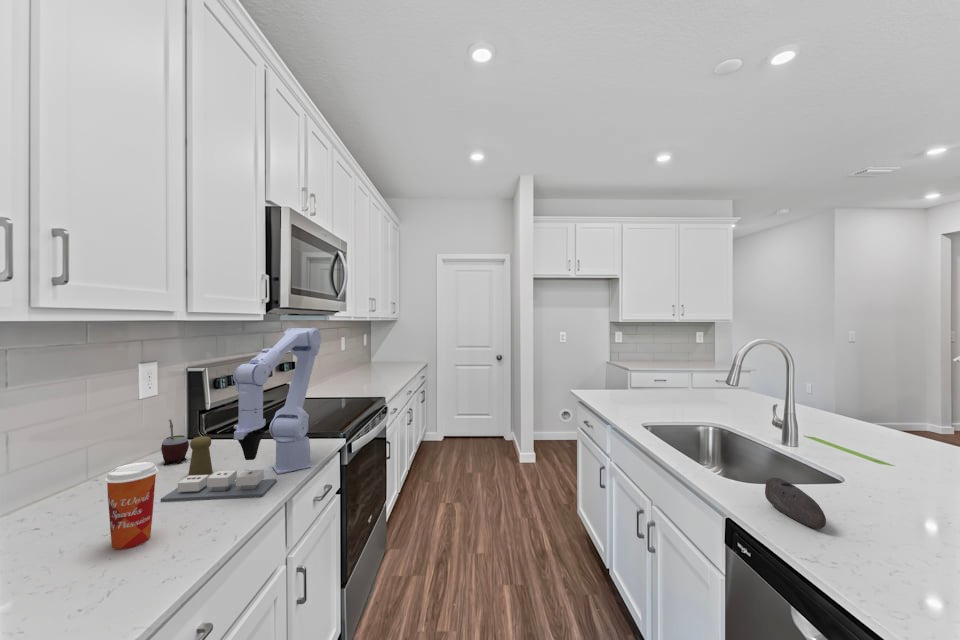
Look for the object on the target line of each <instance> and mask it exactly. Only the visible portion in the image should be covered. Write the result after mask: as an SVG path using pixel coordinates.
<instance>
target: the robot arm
mask: <svg viewBox="0 0 960 640" xmlns="http://www.w3.org/2000/svg"><path fill="white" fill-rule="evenodd" d="M321 335H322V334H321V332H320V330H319V328H317V327H308V328H307V327H305V328H303V327H301V328H299V327H297V328H296V327H295V328H294V327H288V328H287V329H286V330H284V332H283V335H282V338H280V340H278V342H277V343H276V344H275V345H273V347H272V348H270V347H267V348H263V349H261V350H260V353H258V354H257V355H256V356H255V357H253V358H251V359H250V361H249V362H247V363H242V364H240V365H239V366H238V367H236V368H235V371H234V374H233V375H232V379H233V382H234V383H235V385H236V391H237V392H238V420H237V423H238V424H235V425H233V430H234V429H235V431H234V432H233V440H235V441H237V442H238V443H239V444H240V446H241V449H242V453H243V456H244V459H245V461H254V460H255V459H256V458H257V455H258V450H259V446H260V443H261V441H262V438H263V436H264V435H265V430H264V429H262V428H264V427H265V426H266V424H267V423H266V419H267V418H264V384H266V383H267V382H268V380H269V376H270V375H271V372H272V371H273V370H274V369H275V368H276V367H277V366H278V365H280V363H281V362H282V357H283V356H284V355H285V354H287V353H288V352H290V353H291V354H292V355H293V356H295V357H296V363H295V366H294V367H295V368H294V370H293V374H292V377H291V381H290V385H289V388H288V392H287V395H286V400H285V403H284V406H282V407H281V408H279V409H278V410H276V412H275V413H274V417H273V419H272V420H271V422H270V424H269V429H268V430H269V434H270V436H271V437H272V438H273V441H275V464H273V465H272V466H271V467H272V469H273V470H274V471H275V473H276V474H277V475H279V474H285V473H289V472H293V471H300V470H303V469H309V468H311V467H312V466H311V443H310V442H311V441H310V438H309V436H306V435H307V433H308V430H309V418H310V415H309V414H308V413H307V411H305V409H304V405H305V400H306V396H307V392H308V388H309V384H310V380H311V376H312V373H313V368H314V365H315V360H316V356H318V355H319V351H320V347H321V344H322V336H321Z"/></svg>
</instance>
